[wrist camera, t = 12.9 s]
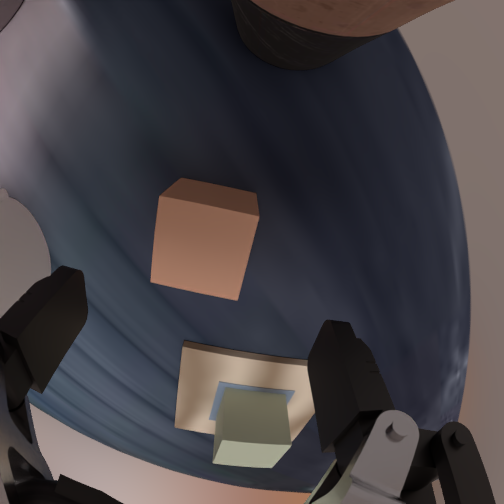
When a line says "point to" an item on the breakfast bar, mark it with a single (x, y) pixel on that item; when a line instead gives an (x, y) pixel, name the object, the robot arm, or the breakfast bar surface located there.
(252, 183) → the breakfast bar surface
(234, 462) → the sage block
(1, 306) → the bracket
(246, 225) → the terracotta block
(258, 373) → the board
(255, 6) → the travel mug
